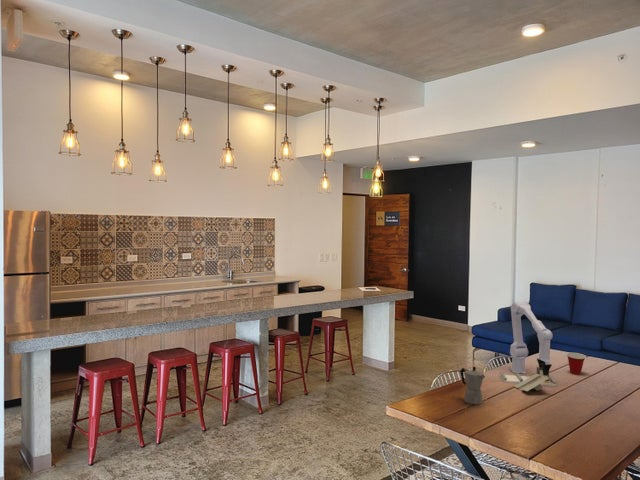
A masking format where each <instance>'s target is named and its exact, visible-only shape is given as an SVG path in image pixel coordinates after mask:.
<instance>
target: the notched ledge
mask: <svg viewBox="0 0 640 480" xmlns="http://www.w3.org/2000/svg"><path fill="white" fill-rule="evenodd" d="M499 375H500V378H501V380H502V381H503V383H511V384H512V383H513V384H518V383H520V382H522V381H524V380H526V379H527V378H529V377H530V376H527V375H520V373H515V375H514V374H513V375H511V374H505V373H504V372H503V371H501V372H500V373H499ZM533 375H535V374H531V376H533ZM540 384H541V386H549V387H550V386H551V387H556V386H557V381H556V380H555V379H554V378H553V377H552V376H551V375H549V381H544V382H542V383H540Z"/></svg>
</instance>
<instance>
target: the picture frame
mask: <svg viewBox="0 0 640 480" xmlns="http://www.w3.org/2000/svg"><path fill="white" fill-rule="evenodd" d="M535 374H539V375H541V377H544V375H543V369H542V367H539V366H538V367H536V373H535ZM549 376H550V372H549V373H548V376H545V377H548V378H549ZM545 381H549V379H547V380H545Z"/></svg>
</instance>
